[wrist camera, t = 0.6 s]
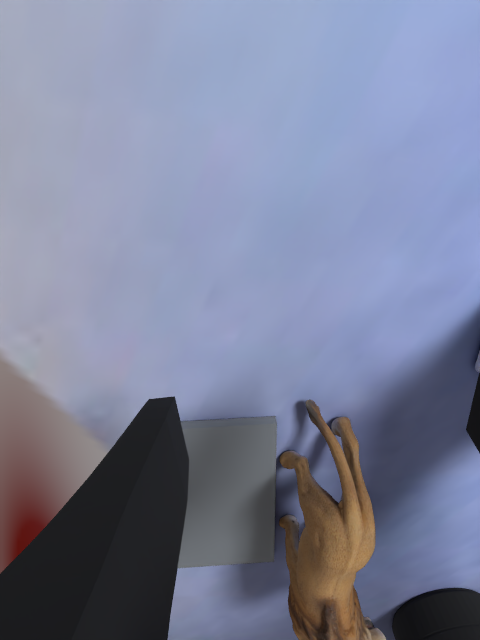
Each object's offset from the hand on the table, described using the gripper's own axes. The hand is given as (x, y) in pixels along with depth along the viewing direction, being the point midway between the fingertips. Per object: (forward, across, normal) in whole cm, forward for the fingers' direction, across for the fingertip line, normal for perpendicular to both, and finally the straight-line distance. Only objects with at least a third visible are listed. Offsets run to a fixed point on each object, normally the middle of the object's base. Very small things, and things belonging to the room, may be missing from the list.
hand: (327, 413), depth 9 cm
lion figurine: (+10, -2, +15) cm, 18 cm away
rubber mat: (+9, +5, +14) cm, 18 cm away
